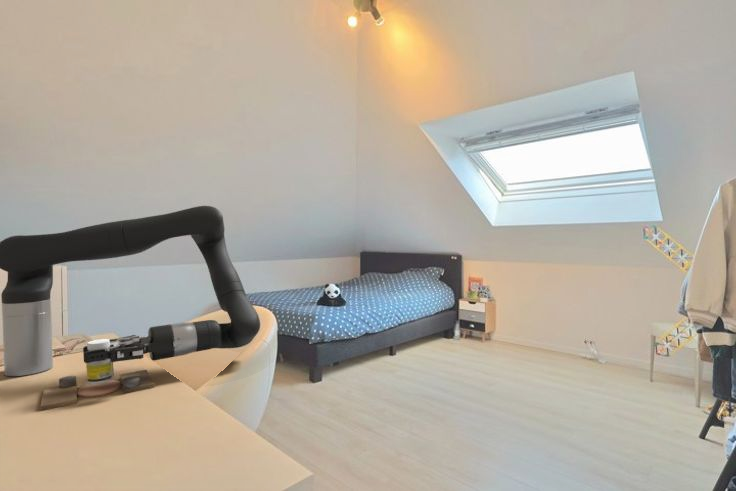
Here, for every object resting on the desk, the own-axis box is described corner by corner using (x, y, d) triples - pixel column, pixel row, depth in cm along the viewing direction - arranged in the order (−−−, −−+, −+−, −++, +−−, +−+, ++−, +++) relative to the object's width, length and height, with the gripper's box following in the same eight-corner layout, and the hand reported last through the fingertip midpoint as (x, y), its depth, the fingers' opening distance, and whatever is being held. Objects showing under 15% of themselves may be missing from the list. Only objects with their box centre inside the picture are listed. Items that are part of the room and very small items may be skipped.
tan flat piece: (44, 391, 86) (44, 380, 86) (146, 372, 97) (146, 362, 97) (40, 410, 76) (40, 397, 76) (154, 387, 87) (154, 376, 87)
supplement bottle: (95, 377, 89) (93, 338, 89) (118, 376, 90) (116, 337, 89) (82, 385, 84) (80, 344, 84) (106, 383, 85) (104, 343, 85)
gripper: (166, 319, 101) (82, 330, 91) (178, 329, 89) (82, 343, 79) (168, 350, 101) (83, 364, 91) (180, 363, 89) (84, 382, 79)
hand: (84, 354), depth 85 cm, fingers closed on supplement bottle, 4 cm apart
